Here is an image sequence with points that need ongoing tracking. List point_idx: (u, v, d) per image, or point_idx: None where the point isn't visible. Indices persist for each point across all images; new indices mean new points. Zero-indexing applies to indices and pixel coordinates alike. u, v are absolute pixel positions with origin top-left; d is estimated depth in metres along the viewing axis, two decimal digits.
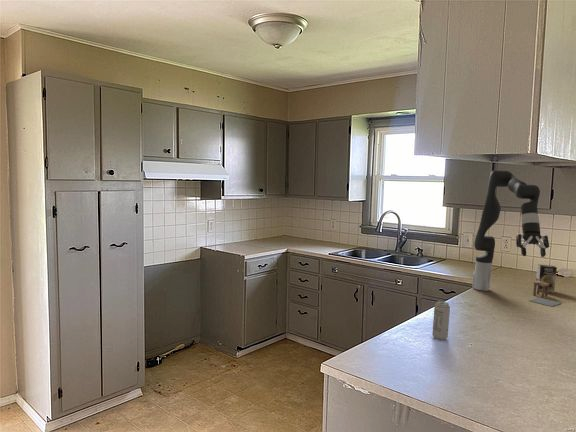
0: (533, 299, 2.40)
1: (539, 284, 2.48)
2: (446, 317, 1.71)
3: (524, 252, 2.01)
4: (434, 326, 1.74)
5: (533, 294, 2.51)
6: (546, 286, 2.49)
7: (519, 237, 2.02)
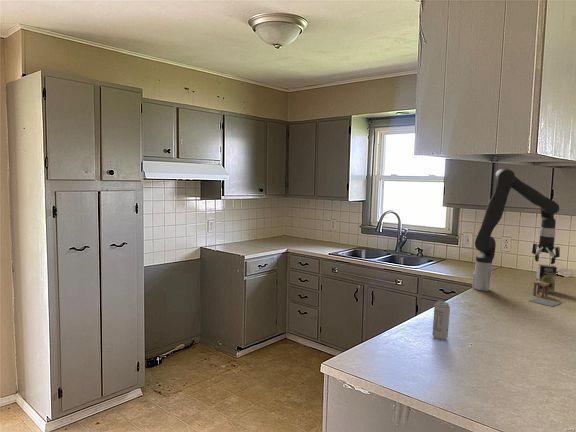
0: (533, 299, 2.40)
1: (539, 284, 2.48)
2: (446, 317, 1.71)
3: None
4: (434, 326, 1.74)
5: (533, 294, 2.51)
6: (546, 286, 2.49)
7: None
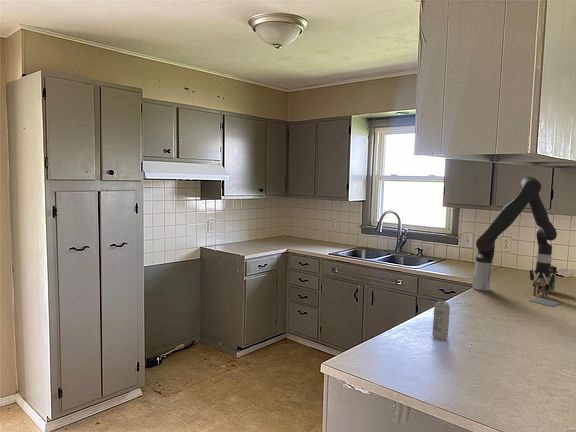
0: (533, 299, 2.40)
1: (539, 284, 2.48)
2: (446, 317, 1.71)
3: None
4: (434, 326, 1.74)
5: (533, 294, 2.51)
6: None
7: None
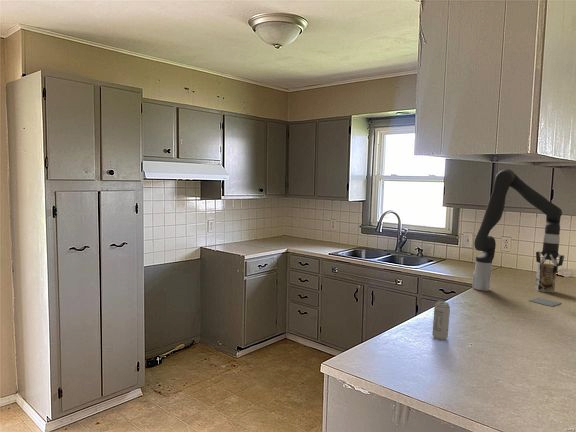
0: (533, 299, 2.40)
1: (546, 266, 2.33)
2: (446, 317, 1.71)
3: None
4: (434, 326, 1.74)
5: (540, 277, 2.36)
6: None
7: None
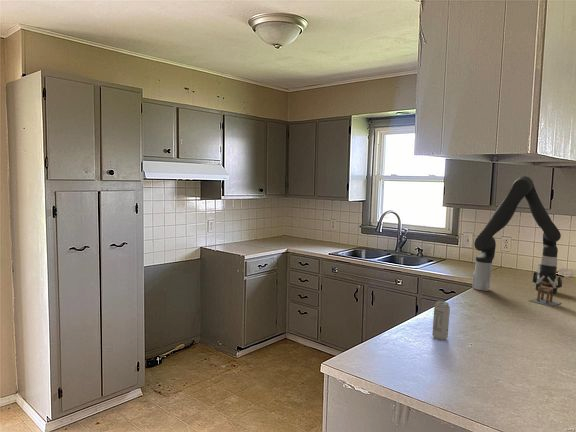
0: (533, 299, 2.40)
1: (543, 289, 2.34)
2: (446, 317, 1.71)
3: None
4: (434, 326, 1.74)
5: (537, 300, 2.37)
6: (551, 291, 2.35)
7: None
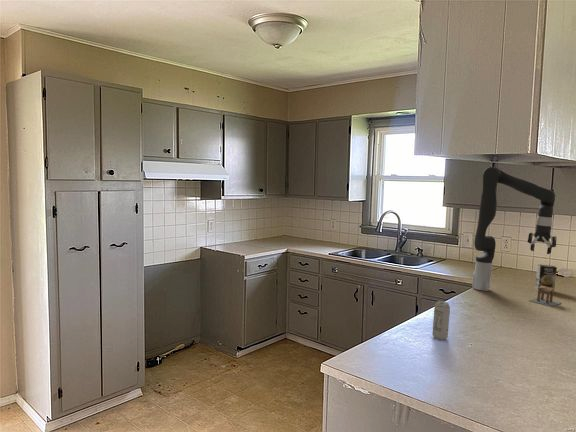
0: (533, 299, 2.40)
1: (543, 289, 2.34)
2: (446, 317, 1.71)
3: None
4: (434, 326, 1.74)
5: (537, 300, 2.37)
6: (551, 291, 2.35)
7: None
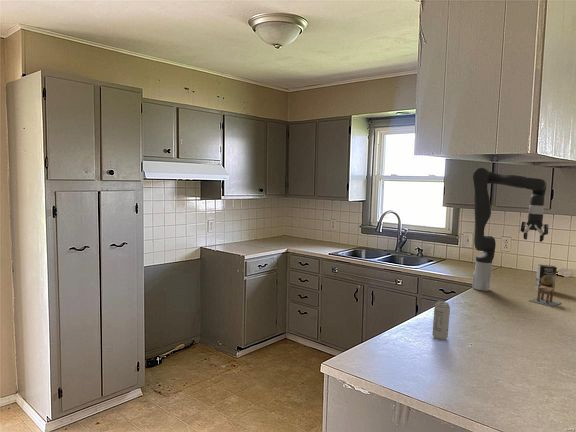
0: (533, 299, 2.40)
1: (543, 289, 2.34)
2: (446, 317, 1.71)
3: None
4: (434, 326, 1.74)
5: (537, 300, 2.37)
6: (551, 291, 2.35)
7: None
